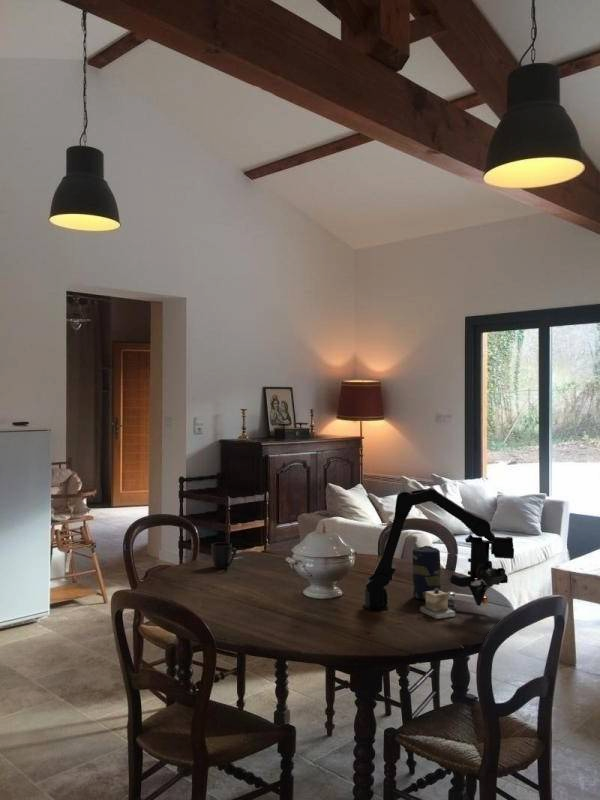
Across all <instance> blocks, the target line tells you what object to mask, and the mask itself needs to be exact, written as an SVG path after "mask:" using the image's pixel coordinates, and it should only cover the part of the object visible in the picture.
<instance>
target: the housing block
mask: <svg viewBox="0 0 600 800" xmlns="http://www.w3.org/2000/svg"><path fill="white" fill-rule="evenodd" d="M425 606H426V607H427V608H429V609H431V610H433V611H440V610H448V594H447V593H446V592H444V591H442V590H441V591H440V590H439V589H438V588H435V589H434V591H426V600H425Z"/></svg>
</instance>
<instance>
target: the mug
mask: <svg viewBox="0 0 600 800" xmlns="http://www.w3.org/2000/svg"><path fill="white" fill-rule="evenodd" d="M210 551H211V557H212V559H211V560H212V563H213V567H214V568H215V569H216V568H226V569H228V568H229V567H231V565H232V564H233V562H234V559H235V557H236V555H237V549H236V548H235V547H233V545H232V542H224V541H223V542H214V543H211V550H210Z"/></svg>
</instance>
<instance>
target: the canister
mask: <svg viewBox="0 0 600 800" xmlns="http://www.w3.org/2000/svg"><path fill="white" fill-rule="evenodd" d="M411 553H412V557H411V558H412V596H414V598H417V599H418V600H423V601H426V591H434V589H435V588H438V589H439V590H440V591H442V590H441V589H442V588H441V587H442V586H441V583H442V582H441V580H442V579H441V573H442V572H441V570H442V569H441V551H440V549H438V548H437V547H433V546H430V545H423V546H419V547H415V548H413V549H412V552H411Z"/></svg>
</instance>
